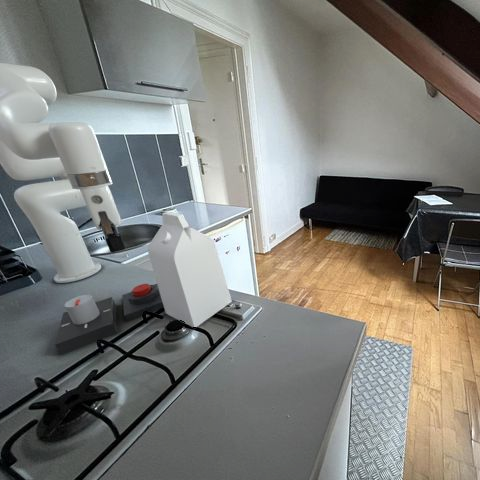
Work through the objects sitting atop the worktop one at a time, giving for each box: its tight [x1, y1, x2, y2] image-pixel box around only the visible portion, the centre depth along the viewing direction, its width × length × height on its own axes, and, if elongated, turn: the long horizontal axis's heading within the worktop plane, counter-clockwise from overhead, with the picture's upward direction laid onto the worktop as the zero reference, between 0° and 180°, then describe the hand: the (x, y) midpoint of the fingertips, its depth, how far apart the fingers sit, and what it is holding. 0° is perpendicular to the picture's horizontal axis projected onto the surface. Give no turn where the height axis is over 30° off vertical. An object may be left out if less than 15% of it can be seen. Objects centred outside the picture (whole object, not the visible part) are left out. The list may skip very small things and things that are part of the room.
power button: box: [132, 283, 151, 297], centre depth 71 cm, size 4×4×2 cm
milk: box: [147, 211, 233, 328], centre depth 64 cm, size 12×12×26 cm
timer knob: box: [64, 294, 100, 325], centre depth 62 cm, size 5×5×5 cm
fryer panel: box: [54, 296, 118, 356], centre depth 64 cm, size 14×10×3 cm
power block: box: [121, 283, 164, 322], centre depth 72 cm, size 12×10×4 cm
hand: (118, 249), depth 69 cm, fingers closed
